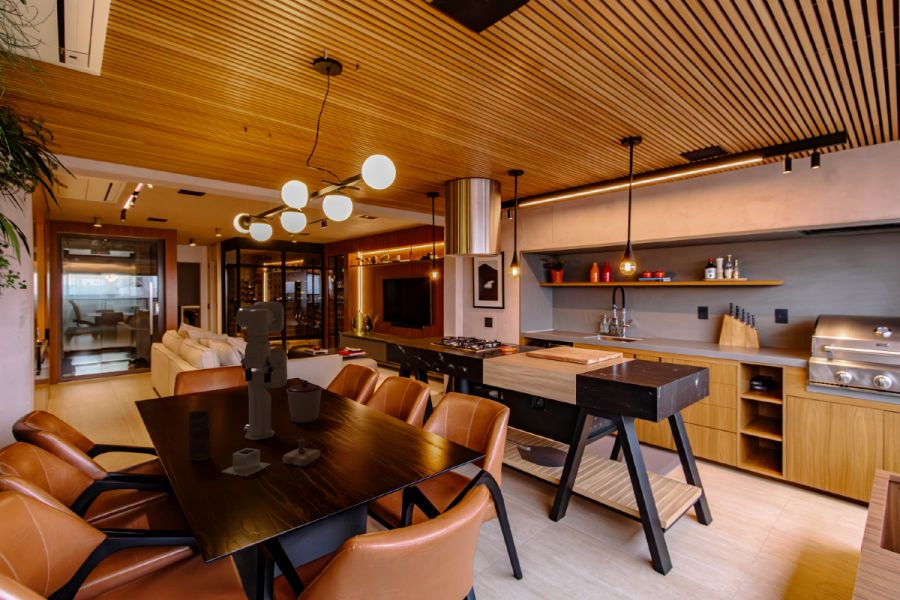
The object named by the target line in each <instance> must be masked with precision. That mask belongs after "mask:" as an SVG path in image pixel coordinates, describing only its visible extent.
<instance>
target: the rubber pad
mask: <svg viewBox="0 0 900 600" xmlns="http://www.w3.org/2000/svg"><path fill="white" fill-rule="evenodd" d="M269 465H270V466H271V465H272V463H267V462H263V461H262V462H261V461H260V466H258V467H256V468H254V469H252V470H250V471H248V472H243V471H237V470H233V465H232V466H230V467H227V468H226V469H223V470H221V471H220V472H221V473H222V474H226V475H227V474H228V475H232V474H233V476H237V475H239V476H238V477H243V476H245V477H244V478H248V477H250V476H252V475H254V474H256V473H258V472H260V471H262V470H263V469H266V468H268V467H270V466H269ZM267 466H268V467H267ZM251 474H252V475H251ZM249 475H250V476H249ZM247 476H248V477H247Z"/></svg>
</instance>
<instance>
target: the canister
mask: <svg viewBox="0 0 900 600" xmlns="http://www.w3.org/2000/svg"><path fill="white" fill-rule="evenodd" d="M323 389H324V388H323V387H322V386H320V385H319V384H313V383H309V381H308V380H302V381H301V382H300V384H296V385H293V386H290V387H288V388H287V389H286V393H287V398H288V399H287V400H288V407H289V415H290V418H291V421H293V422H295V423H297V424H299V423H300V424H305V423H307V424H308V423H310V422H315V421H316V420H317V419H318V417H319V413H320V406H321V399H322V398H321V397H322V390H323Z"/></svg>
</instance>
